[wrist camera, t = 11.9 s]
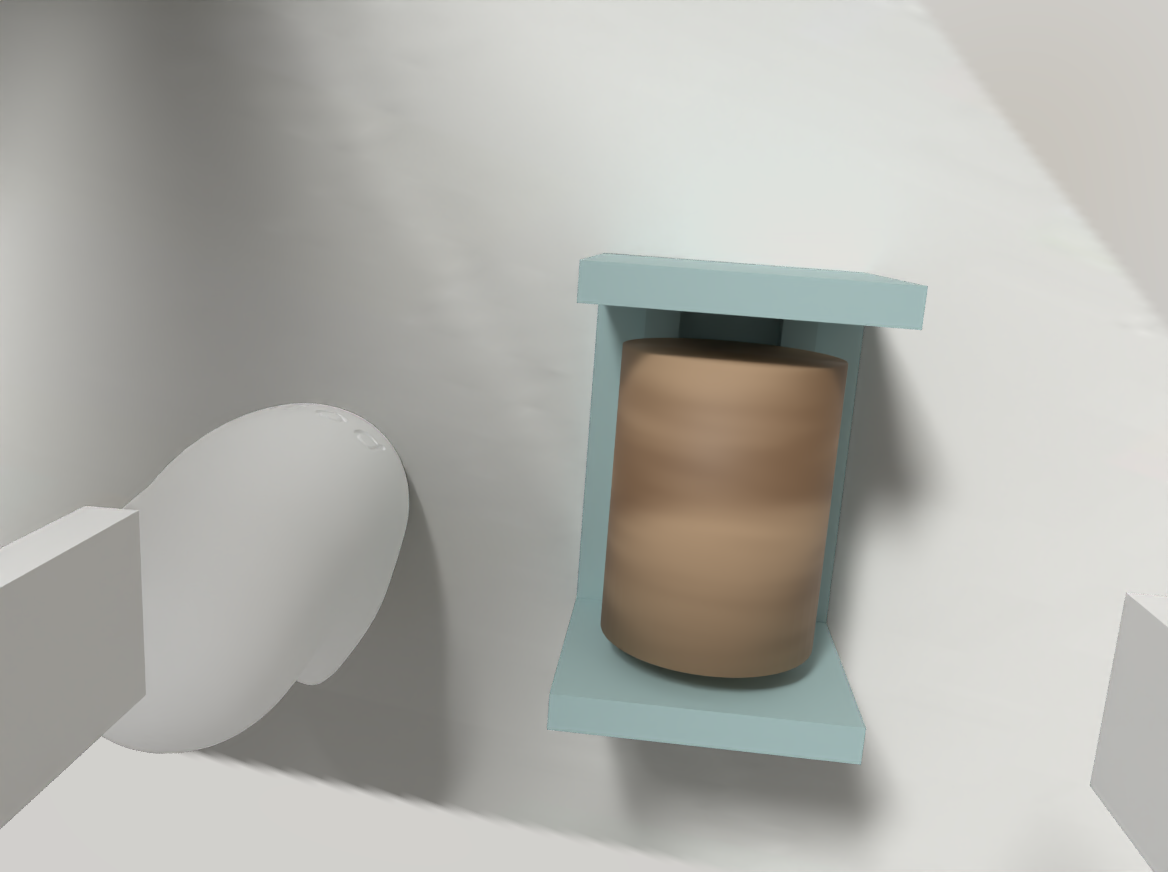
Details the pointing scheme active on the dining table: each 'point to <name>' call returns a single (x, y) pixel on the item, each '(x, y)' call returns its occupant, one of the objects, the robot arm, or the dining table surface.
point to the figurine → (259, 568)
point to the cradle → (588, 659)
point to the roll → (720, 503)
